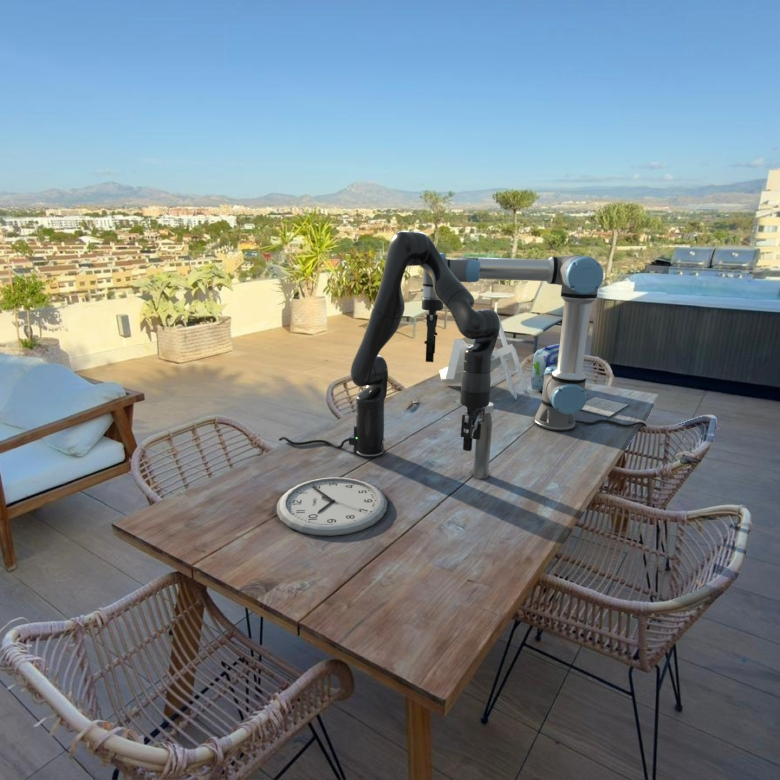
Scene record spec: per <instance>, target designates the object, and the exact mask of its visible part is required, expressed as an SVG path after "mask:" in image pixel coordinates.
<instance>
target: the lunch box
mask: <svg viewBox="0 0 780 780" xmlns="http://www.w3.org/2000/svg"><path fill="white" fill-rule="evenodd" d="M559 346H560V343H555V344H552V345H547V346H545V347H542V348H539V349H537V350H536V351H535V353H534V355H533V358H532V363H531V364H532V365H531V376H530V377H531V378H530V387H531V389H532V390H536V391H539V392H540V391H541V392H543V382H544V373H545V369H546V368H547V367H553V366H557V364H558V355H559Z"/></svg>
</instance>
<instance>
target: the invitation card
mask: <svg viewBox="0 0 780 780" xmlns="http://www.w3.org/2000/svg"><path fill="white" fill-rule="evenodd" d="M628 406H629V404H627V403H623V402H618V401H614V400H609V399H605V398H601V397H596V396H593V397H592V398H590V399H587V401H586V404H585V406H584V407H583V408H582V409H581V410H580V411H584V412H587V413H593V414H596V415H600V416H604V417H608V418H609V417H611V416H613V415H614V414H616V413H617V412H619V411H621V410H623V409H624V408H626V407H628Z"/></svg>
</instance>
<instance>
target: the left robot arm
mask: <svg viewBox="0 0 780 780" xmlns="http://www.w3.org/2000/svg"><path fill="white" fill-rule="evenodd" d="M439 253H440V252H439V250H438V248H437V247H436V245H435V244H434V242H433V241H432V239H431V238H430V237H429V236H428V235H427V234H426V233H425V232H422V231H421V232H420V231H408V230H405V231H404V230H401V231H398V232H396V233H395V234H394V235H393V236H392V237H391V239H390V242H389V245H388V249H387V253H386V257H385V263H384V267H383V271H382V277H381V279H380V283H379V287H378V290H377V293H376V297H375V300H374V303H373V306H372V308H371V312H370V314H369V318H368V323H367V325H366V329H365V330H364V334H363V337H362V340H361V342H360V345H359V347H358V348H357V351H356V354H355V356H354V357H353V361H352V363H351V367H350V379H351V381H352V382H353V384H354V385H355V386H357V387H362V388H363V387H364V388H363V390H361V391H360V392H359V393H358V394H357V395H356V397H355V403H356V404H355V417H356V418H355V425H354V426H353V434H351V435H349V437H348V438H345V439H343V440H342V441H341V443H340V444H339V445H335V444H333V443H331V442H330V441H327V440H325V439H313V440H306V441H298V442H297V441H293V440H291V439H289V438H287V436H281V437H280V438H279V439H278V441H279V442H280V441H283V440H285V442H287V443H288V444H291V445H294V446H303V445H310V444H315V443H321V444H322V443H323V444H326V445H328V446H330V447H333V448H336V449H342V448H343V446H344V444H345V443H347V442H348V445H350V446H353V453H354V454H356V455H357V456H360V457H362V458H367V459H368V458H377V457H378V458H379V457H381V456H382V455H383V454H384V452H385V449H384V447H385V446H384V445H385V441H386V440H385V400H386V398H387V394H388V380H389V368H388V363H387V361H386V360H385V358H384V357H383V356H381V355H380V354H379V353H380V352H381V351H382V349H383V348H384V347H385V346H386V345H387V343H389V341H390V340H391V339H392V337H394V335H395V334H396V333H397V331H398V330H399V327H400V324H401V321H402V319H403V317H404V312H405V300H404V295H403V290H402V282H403V278H404V274H405V272H406V269H407V267H418V266H419V267H420V268H422V270H423V269H424V270H426V271H427V272H428V273H429V275H430V276H431V278H432V281H433V287H434V291H435V293H436V295H437V297H438V298H439V300H440V301H441V302H442V303H443V306H444V307H445V308H446V309H447V310H448V311H449V313H450V314H451V316H452V319H453V321H454V323H455V325H456V327H457V330H458V331H459V333H460V334H461V335H462V336H463V337H465V338H467V339H469V340H474V341H473V343H472V344H471V345H470V346H469V347H468V348H467V349H466V350H465V352H464V361H463V373H462V379H461V383H460V399H459V402H460V404H461V405H462V406H463V407H466V410H465V411H464V414H462V415H461V424H460V425H461V428H460V438H463V441H462V450H463V451H465V452H472V450H473V440H475V441H476V440H479V439H480V436H481V427H480V426H482V425H483V423H482V422H484V414H485V407H486V406H488V405H489V402H490V396H491V395H490V394H491V383H492V376H491V375H492V374H491V372H490V371H491V356H492V353H493V350H495V347H496V344H497V341H498V337H499V336H500V335H499V330H500V321H501V320H500V321H499V318H500V316H499V314H498V313H497V311H496V310H493V309H489V308H484V309H476V310H475V309H473V307H474V305H475V298H474V295H472V293H471V292H470V291H469V290H468V288H467V287H466V286H464V284H463V282H460V281H459V280H458V279H457V278H456V277H455V276H454V274H453V273H452V272H451V270H450V269H449V268H448V266H447V264H446V263H445V261H444V260H443V258H442V257H441V255H440V254H439ZM495 311H496V312H495ZM496 313H497V314H498V315H497V314H496ZM498 316H499V317H498ZM467 430H468V432H467Z"/></svg>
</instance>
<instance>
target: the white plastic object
mask: <svg viewBox="0 0 780 780" xmlns="http://www.w3.org/2000/svg"><path fill="white" fill-rule="evenodd" d="M494 311H495V312H496V314H497V315H498V317H499V321H500V330H499V335H498V336H499V338H500V342H501V345H502V347H500V348H498V349H496V350H495V349H494V350H493V353H492V356H491V371H490V373H492V372H494V371H495V370H496V369H497V368H499V367H500V366H502V370H503V373H504V376H505V380H506V383H507V386H508V390H509V393H510V394H511V395H512V397H513V398H514V399H515V400H517V392H516V391H517V390H516V388H515V385H514V381H513V378H512V375H511V371H510V369H509V365H508V361H510V360H513V363H514V366H515V369H516V372H517V376H518V380H519V382H520V385H521V389H522V391H523V393H524V395H525V396H526V397H528V396H531V395H530V390H529V388H528V387H529V386H528V384H527V381H526V378H525V375H524V371H523V369H522V368H523V367H522V366H521V362H520V359H519V355H518V352H517V349H516V347H515V346H514V345H513V343H511V344H508V341H507V337H506V334H505V331H504V328H503V325H502V321H501V318H500V315H499V314H498V312H497V311H496V310H494ZM468 347H470V346H469V345H468V343H466V342H465V340H464V339H463V338H460V339H458V338H454V340H453V344H452V349H451V353H450V357H449V362H448V366H446V367H444V368H442V369H440V370H439V371H438V372H439V376H440V381H442V383H443V384H444V385H445V386H449V385H458V384H461V379H462V373H463V361H464V352H465V350H466V349H467V348H468Z"/></svg>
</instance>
